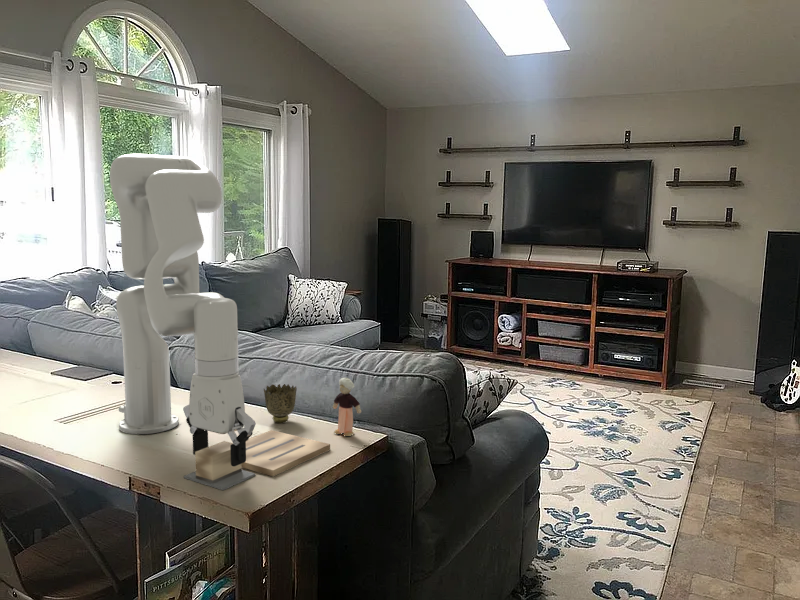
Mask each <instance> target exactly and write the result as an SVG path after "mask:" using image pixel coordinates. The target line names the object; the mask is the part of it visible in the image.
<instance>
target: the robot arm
mask: <svg viewBox="0 0 800 600" xmlns="http://www.w3.org/2000/svg"><path fill="white" fill-rule="evenodd" d="M109 182H110V188H111V192H112V195H113V197H114V202H115V204H116V206H117V209H118V213H119V221H120V239H121V241H120V242H121V243H120V244H121V260H122V262H121V263H122V269H123V271H124V274H125V275H126V276H127V277H128V278H130V279H134V280H143V285H136V286H131V287H127V288H125V289H124V290H121V292H120V293H119V294H118V296H117V298H116V313H117V316H118V317H117V318H118V322H119V326H120V331H121V332H120V333H121V339H122V340H121V341H122V350H123V351H122V354H123V355H122V358H123V378H124V379H123V380H124V397H125V402H124V404H123V405H120V406H119V407H118V412H120V413H123V415H124V416H123V419H121V420H120V421H119V422H118V429H119V431H121V432H123V433H126V434H131V435H150V434H152V435H153V434H156V433H157V434H158V433H163V432H167V431H169V430H172V429H174V428H176V427H177V426H178V425H179V417H178V416H177V415H175V414H172V399H171V397H172V395H171V373H170V372H171V371H170V370H171V369H170V351H169V349H170V348H169V345H168V343H167V342H166V340H165V339H164V338H163V337H176V336H184V335H193V337H194V338H193V339H194V340H193V341H194V359H193V362H194V366H195V368H194V370H195V371H194V373H192V377H191V382H190V388H189V400H188V401H189V403H188V404H187V405H185V406H183V413H184V415H185V416H184V417H185V418H186V419H185V421H186V424H187V425H188V427H189V433H190V435H191V434H192V436H191V437H192V455H193V456H195V452H196V451H199V450H201V449H204V448H207V447H209V432H211V433H215V434H219V435H226V434H227V435H228V436H229V438H230V440H231V443H233V444H231V446H230V451H231V466H237V465H239V464H242V463H244V462H245V461H246V441H248V440H249V439H250V438H251V437H252V435H253V431H254V430H255V427H256V421H255V420H254V419H253V418H252V417H251V416H250V415H249V414H247V412H246V410H245V409H246V406H245V397H244V388H243V384H242V383H243V381H242V377H241V375H240V373H239V337H238V336H239V333H238V332H239V331H238V330H239V329H238V325H239V324H238V306H237V303H236V301H235V300H234V299H231V298H228V297H224V295H222V294H220V293H218V292H215V291H210V292H207V291H205V292H200V265H199V264H200V262H199V254H198V253H199V252H198V251H199V250H200V249H201V248H202V247H203V245H204V243H205V239H204V234H203V230H202V227H201V226H202V225H201V222H200V219H199V216H198V214H199V213H200V214H202V213H205V214H208V213H214V212H216V211H217V210H218V209H219V208H220V206H221V204H222V200H223V199H222V198H223V196H222V195H223V193H222V188H221V185H220V182H219V180H218V179H217V176H216V175H215V173H214V172H213V171H211V169H209V168H207V167H206V166H205V165H203V164H202V163H201V162H200V161H199V160H196V159H195V158H193V157H190V156H183V155H162V154H150V153H149V154H148V153H129V154H123V155H120V156H117V157H116V158H114V160H113V161H112V163H111V165H110V171H109ZM164 279H173V282H174V283H165V284H164ZM236 432H237V433H238V435H237V433H236Z"/></svg>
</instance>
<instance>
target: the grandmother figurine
mask: <svg viewBox="0 0 800 600" xmlns="http://www.w3.org/2000/svg"><path fill="white" fill-rule="evenodd" d="M338 381H339V382H338V385H339V393H338V394H337V395H336V397H335V398H334V400H333V404H332V409H334V410H335V409H337V408H338V419H337V420H338V421H337V422H338V423H337V429H335V430H334V431H333V434H334V433H336V434H340V435H342V436H343V435H345V436H351V435H352V434H354V435H355V432H354V431H353V426H354V425H353V424H354V414H353V407H354V408H355V410H356V413H357V414H361V413H362V409H361V405H360V404H361V403H360V402H359V401H358V399H357V398H356V397H355V396H353V395H352V394H351V391H352V390H353V389H354V388H355V384H354V383H353V381H352V380H351V379H350V378H349V377H342V378H340V379H339V380H338ZM341 433H344V434H341ZM336 434H335V435H336ZM345 436H344V437H345ZM352 436H353V435H352ZM352 436H351V437H352Z"/></svg>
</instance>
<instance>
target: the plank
mask: <svg viewBox="0 0 800 600" xmlns="http://www.w3.org/2000/svg"><path fill="white" fill-rule="evenodd" d="M330 450H331V444H330V443H327V442H323V441H318V440H314V439H311V438H307V437H302V436H297V435H294V434H290V433H285V432H282V431H277V430H272V429H271V430H267V431H266V432H262V433H260V434H257V435H254V436H253V437H252V436H251V437H249V440H248V441H246V461H245V462H244V463H242V464H241V465H242V468H243V469H246V470H250V471H253V472H255V473H256V472H257V473H260V474H263V475H267V476H270V477H275V476H277V475H280V474H282V473H284V472H285V471H288V470H290V469H292V468H295V467H296V466H299V465H301V464H302V463H305V462H307V461H309V460H311V459H314V458H316V457H318V456H320V455H322V454H324V453H327V452H329V451H330Z"/></svg>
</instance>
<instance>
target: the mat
mask: <svg viewBox="0 0 800 600" xmlns="http://www.w3.org/2000/svg"><path fill="white" fill-rule="evenodd" d="M255 476H256V472H255V473H254V472H250V471H247V470H244V469H242V471H241V472H239V473H237V474H234V475H232V476H230V477H227V478H225V479H223V480H221V481H218V482H216V483H214V484H212V483H209V482H206V481H203V480H200V479H196V470H195V471H192V472H190V473H187V474H185V475H183V478H184V479H186V480H190V481H192V482H195V483H199V484H202V485H205V486H208V487H211V488H215V489H218V490H221V491H224V490H227V489H229V488H231V487H233V485H234V486H236V485H238V484H241V483H242V482H245V481H247V480H248V479H251V478H253V477H255Z"/></svg>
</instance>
